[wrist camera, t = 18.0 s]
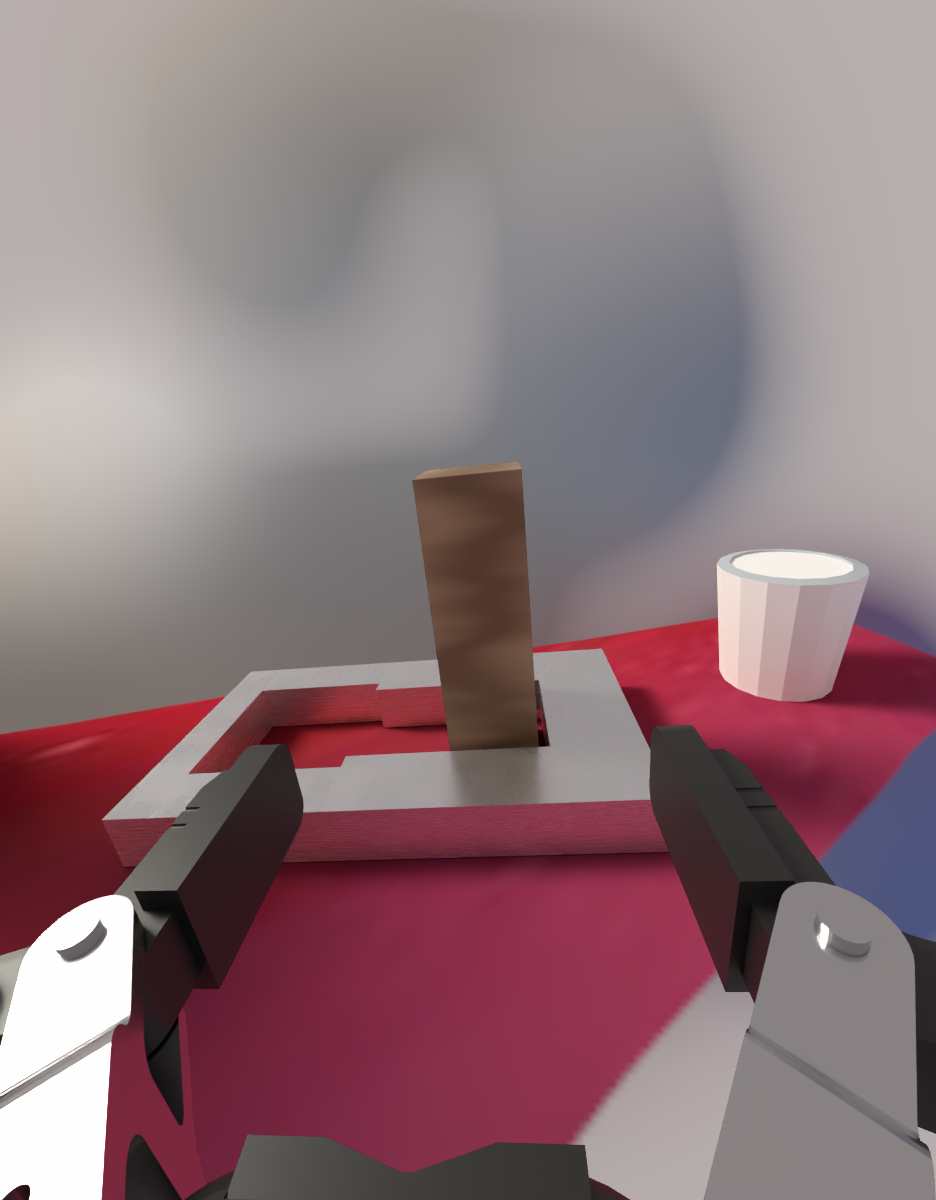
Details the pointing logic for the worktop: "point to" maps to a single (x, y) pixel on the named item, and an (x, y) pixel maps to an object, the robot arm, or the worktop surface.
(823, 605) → the white tapered cup
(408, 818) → the keyhole plate
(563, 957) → the worktop surface
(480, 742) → the walnut post
